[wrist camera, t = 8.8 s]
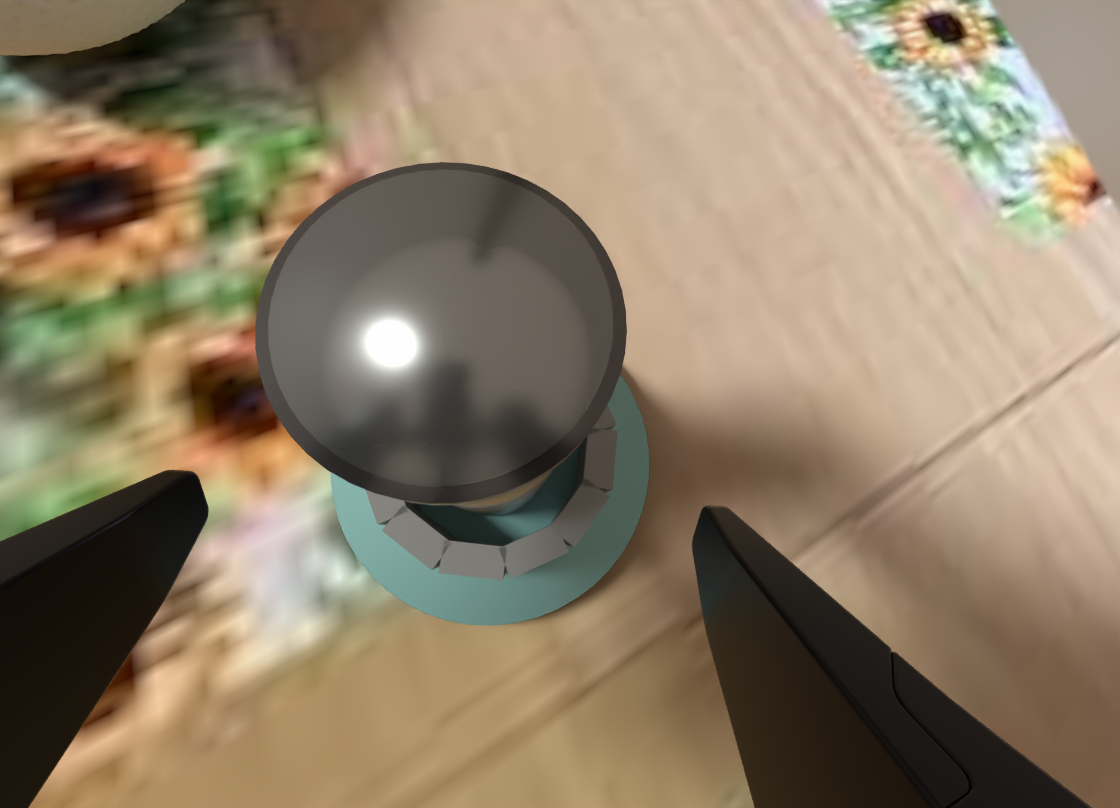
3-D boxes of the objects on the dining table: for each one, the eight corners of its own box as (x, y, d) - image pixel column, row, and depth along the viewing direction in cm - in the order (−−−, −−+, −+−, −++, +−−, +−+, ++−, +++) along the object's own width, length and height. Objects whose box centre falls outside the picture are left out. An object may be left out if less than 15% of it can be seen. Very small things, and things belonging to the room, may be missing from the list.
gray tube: (498, 549, 18) (453, 591, 6) (402, 462, 19) (166, 326, 6) (581, 450, 19) (698, 305, 7) (489, 371, 20) (440, 99, 7)
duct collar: (399, 680, 18) (372, 713, 14) (298, 378, 20) (257, 349, 17) (695, 539, 20) (729, 540, 17) (572, 280, 22) (580, 237, 19)
